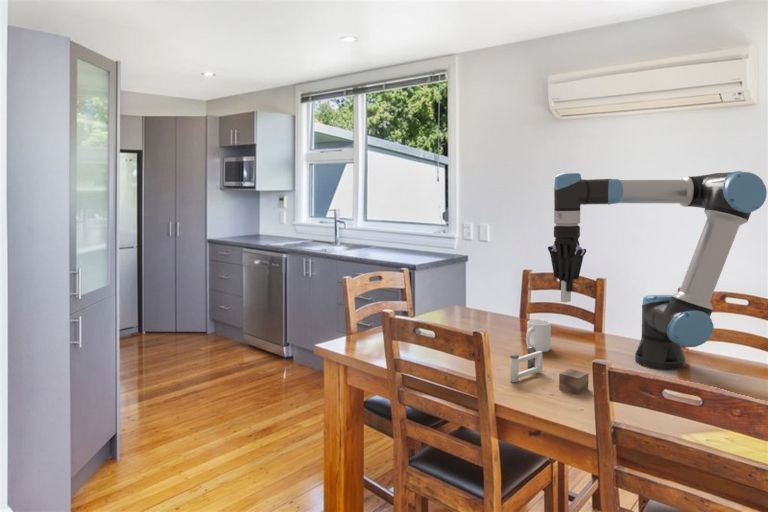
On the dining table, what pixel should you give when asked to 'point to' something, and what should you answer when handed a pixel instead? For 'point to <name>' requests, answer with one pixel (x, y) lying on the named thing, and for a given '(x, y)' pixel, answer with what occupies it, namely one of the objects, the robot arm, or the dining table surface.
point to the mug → (539, 335)
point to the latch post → (532, 361)
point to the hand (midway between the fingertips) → (565, 301)
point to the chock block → (573, 381)
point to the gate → (516, 360)
